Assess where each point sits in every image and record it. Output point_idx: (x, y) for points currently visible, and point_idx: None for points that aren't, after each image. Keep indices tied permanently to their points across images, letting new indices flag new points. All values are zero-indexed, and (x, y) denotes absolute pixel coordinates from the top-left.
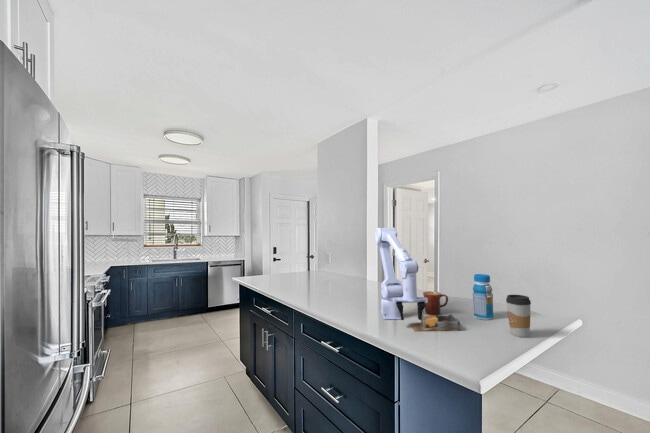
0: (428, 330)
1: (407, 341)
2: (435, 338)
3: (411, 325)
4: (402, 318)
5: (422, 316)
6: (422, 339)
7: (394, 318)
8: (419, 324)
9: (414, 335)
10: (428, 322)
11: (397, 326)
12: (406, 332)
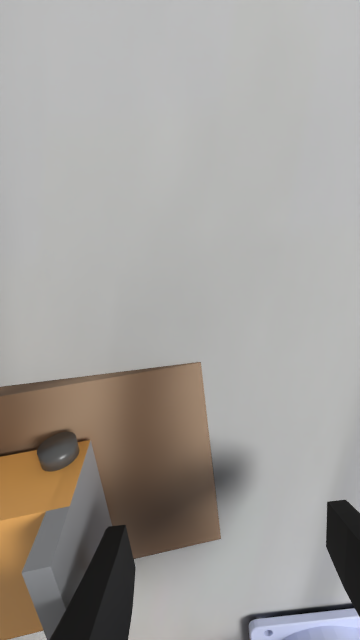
0: (61, 383)
1: (327, 29)
2: (3, 175)
3: (204, 500)
4: (357, 519)
5: (64, 578)
6: (146, 125)
7: (325, 620)
8: (132, 518)
9: (215, 248)
10: (23, 486)
11: (330, 470)
12: (280, 327)
